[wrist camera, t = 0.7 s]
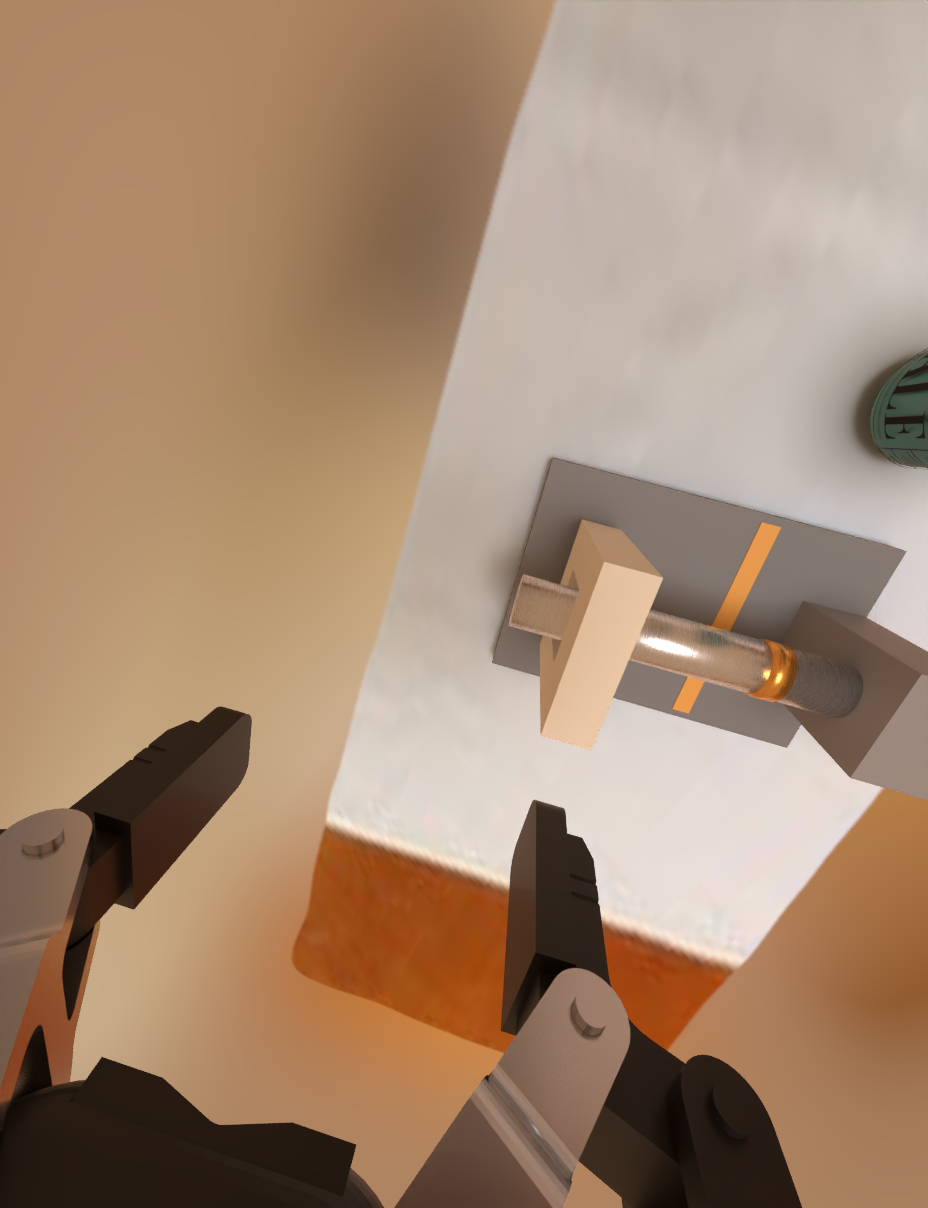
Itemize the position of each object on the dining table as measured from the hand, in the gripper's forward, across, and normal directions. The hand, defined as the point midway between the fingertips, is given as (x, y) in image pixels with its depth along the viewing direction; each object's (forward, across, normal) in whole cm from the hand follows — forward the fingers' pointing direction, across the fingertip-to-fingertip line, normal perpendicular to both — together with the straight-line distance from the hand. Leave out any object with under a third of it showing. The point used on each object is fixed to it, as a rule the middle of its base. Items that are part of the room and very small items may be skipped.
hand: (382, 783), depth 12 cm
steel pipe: (+17, -12, 0) cm, 21 cm away
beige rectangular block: (+21, -7, 0) cm, 22 cm away
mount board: (+24, -13, 0) cm, 27 cm away
